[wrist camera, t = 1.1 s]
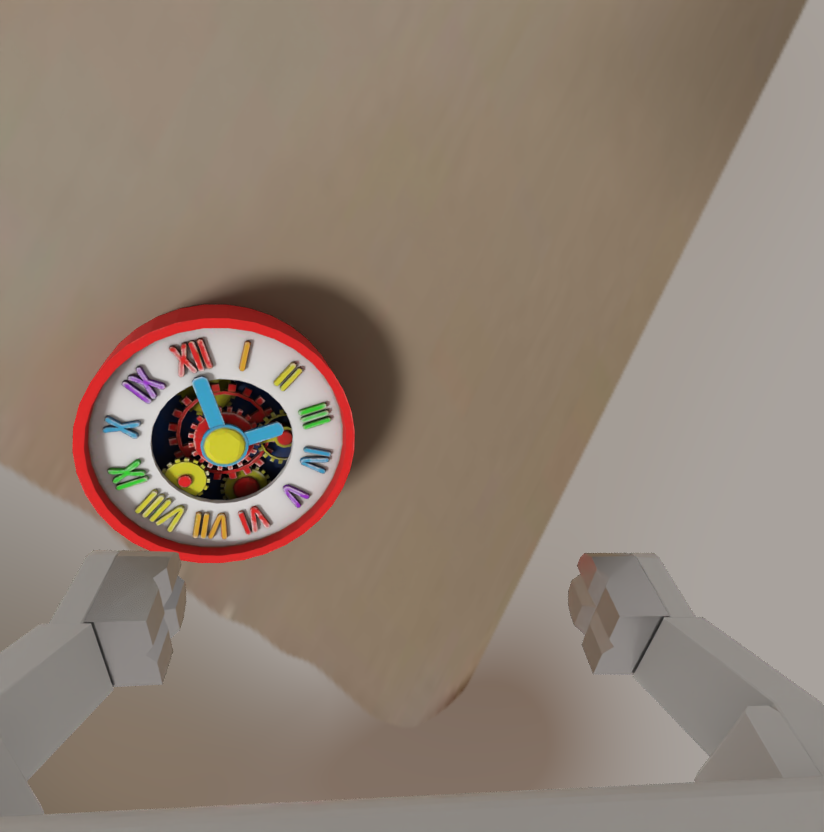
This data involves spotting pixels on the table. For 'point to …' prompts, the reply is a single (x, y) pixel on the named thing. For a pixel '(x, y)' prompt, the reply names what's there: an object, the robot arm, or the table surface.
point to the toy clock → (213, 435)
